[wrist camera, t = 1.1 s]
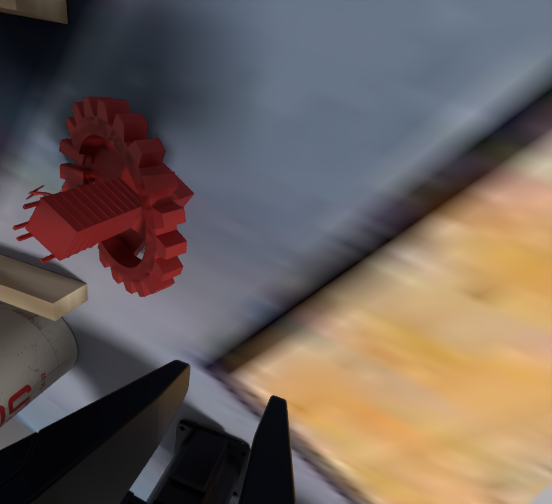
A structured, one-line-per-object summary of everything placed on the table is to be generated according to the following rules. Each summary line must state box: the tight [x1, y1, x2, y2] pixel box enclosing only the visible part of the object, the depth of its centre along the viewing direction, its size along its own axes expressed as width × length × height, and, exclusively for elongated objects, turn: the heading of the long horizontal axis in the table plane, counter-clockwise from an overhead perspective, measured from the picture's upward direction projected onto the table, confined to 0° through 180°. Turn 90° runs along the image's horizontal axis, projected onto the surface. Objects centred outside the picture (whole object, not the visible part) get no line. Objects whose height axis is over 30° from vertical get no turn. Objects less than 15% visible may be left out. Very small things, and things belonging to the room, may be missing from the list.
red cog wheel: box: [13, 97, 194, 297], centre depth 18 cm, size 11×12×8 cm
